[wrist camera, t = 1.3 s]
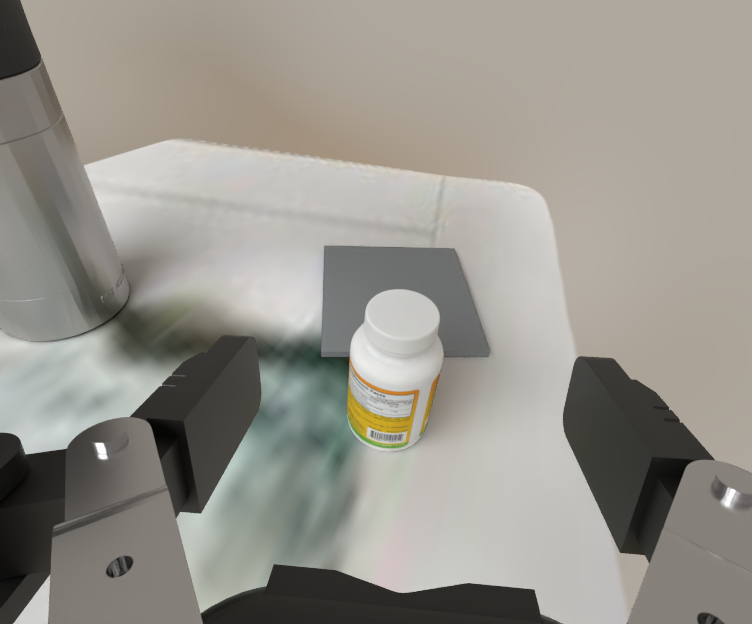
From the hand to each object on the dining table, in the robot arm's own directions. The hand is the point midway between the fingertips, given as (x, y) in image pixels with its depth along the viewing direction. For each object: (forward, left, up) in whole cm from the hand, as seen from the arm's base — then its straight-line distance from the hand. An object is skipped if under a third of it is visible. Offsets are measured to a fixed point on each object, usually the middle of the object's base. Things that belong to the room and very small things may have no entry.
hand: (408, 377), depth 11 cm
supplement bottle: (+2, +10, -17) cm, 20 cm away
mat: (+4, +23, -16) cm, 28 cm away
